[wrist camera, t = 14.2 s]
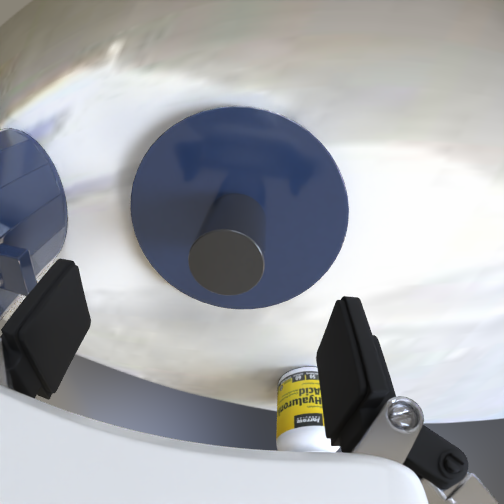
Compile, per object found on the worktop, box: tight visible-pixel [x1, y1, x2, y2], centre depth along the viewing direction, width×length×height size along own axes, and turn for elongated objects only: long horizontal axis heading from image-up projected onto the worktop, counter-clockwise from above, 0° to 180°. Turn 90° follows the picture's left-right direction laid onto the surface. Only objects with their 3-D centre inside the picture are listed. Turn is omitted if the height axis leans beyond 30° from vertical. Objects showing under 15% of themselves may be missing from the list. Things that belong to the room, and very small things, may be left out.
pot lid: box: [131, 106, 349, 309], centre depth 17 cm, size 14×14×6 cm
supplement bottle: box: [277, 367, 340, 453], centre depth 24 cm, size 5×5×10 cm
